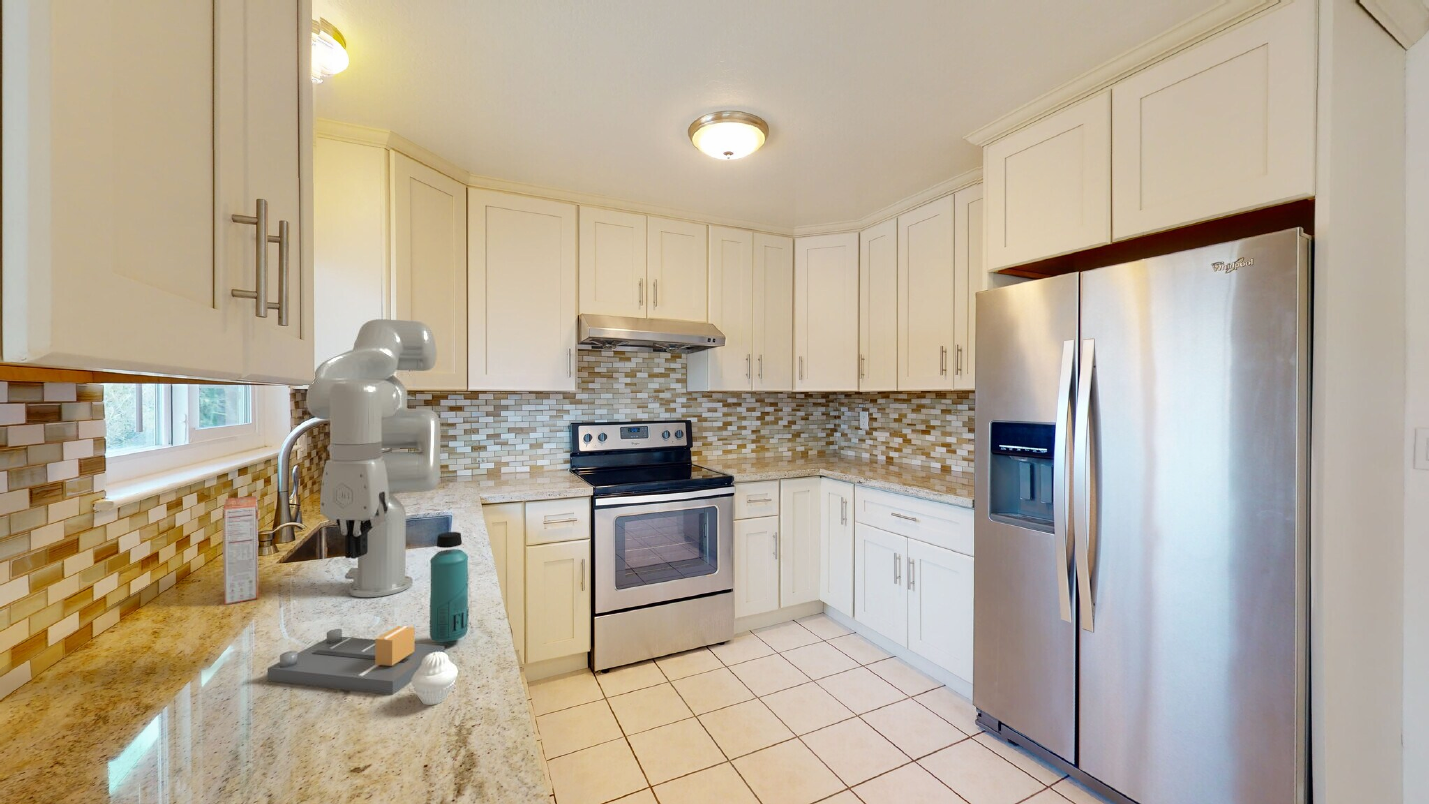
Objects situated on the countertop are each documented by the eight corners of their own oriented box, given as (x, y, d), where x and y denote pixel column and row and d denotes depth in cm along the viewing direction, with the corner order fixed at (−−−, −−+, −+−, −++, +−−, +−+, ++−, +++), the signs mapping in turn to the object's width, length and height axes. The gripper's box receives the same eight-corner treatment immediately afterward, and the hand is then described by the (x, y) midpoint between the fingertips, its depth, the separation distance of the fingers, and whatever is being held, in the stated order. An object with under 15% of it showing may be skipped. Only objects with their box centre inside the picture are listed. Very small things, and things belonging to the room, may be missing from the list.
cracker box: (223, 588, 127) (224, 497, 127) (257, 583, 131) (258, 495, 131) (221, 606, 116) (222, 507, 116) (258, 599, 120) (259, 504, 120)
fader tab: (375, 664, 87) (375, 637, 87) (398, 649, 92) (398, 624, 92) (392, 665, 86) (392, 639, 86) (414, 651, 91) (414, 626, 91)
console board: (267, 680, 86) (267, 657, 86) (332, 646, 98) (332, 626, 98) (392, 694, 82) (392, 670, 82) (444, 657, 94) (444, 636, 94)
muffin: (404, 700, 81) (404, 652, 81) (447, 684, 86) (447, 639, 86) (421, 716, 77) (421, 666, 77) (464, 698, 82) (465, 651, 82)
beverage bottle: (453, 652, 96) (454, 538, 96) (419, 648, 98) (421, 536, 97) (476, 637, 103) (477, 530, 102) (445, 633, 104) (446, 528, 104)
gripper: (299, 453, 93) (300, 559, 94) (377, 458, 91) (377, 567, 92) (337, 447, 101) (337, 545, 102) (410, 452, 98) (409, 552, 99)
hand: (356, 555), depth 97 cm, fingers closed
